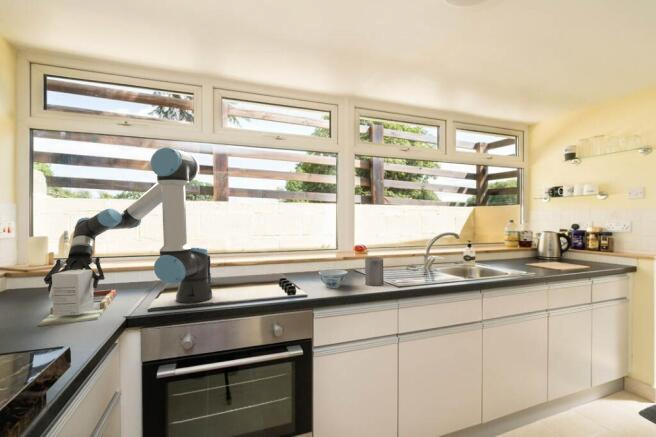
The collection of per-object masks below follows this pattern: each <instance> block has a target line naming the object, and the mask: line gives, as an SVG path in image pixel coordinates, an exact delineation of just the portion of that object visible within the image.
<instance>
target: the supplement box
mask: <svg viewBox="0 0 656 437" xmlns="http://www.w3.org/2000/svg"><path fill="white" fill-rule="evenodd" d="M92 270H93V269H92ZM92 270H85V269H83V270H68V271H64V272H60V271H59V272H60V273H57V274H53V275H52V294H53V301H52V307H53V316H56V315H79V314H81V313H83V312H85V311H87V310H93V309H94V308H95V307H94V304H95V302H93V297H90V295H89V290H90V284H91V279H92V278H93V276H92Z"/></svg>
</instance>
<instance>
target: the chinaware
mask: <svg viewBox="0 0 656 437" xmlns="http://www.w3.org/2000/svg"><path fill="white" fill-rule="evenodd" d="M348 273H349V271H347V270H344V269H337V268H336V269H335V268H334V269H331V268H329V269H323V270H322V269H321V270H320V271H318V276H319V279H320V281H321V282H322V283H323V284H324V285H325V286H326V288H328V289H338V288H340V287H341V285H342V284H343V283H344V282H346V279H347V277H348Z"/></svg>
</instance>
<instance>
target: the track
mask: <svg viewBox="0 0 656 437" xmlns="http://www.w3.org/2000/svg"><path fill="white" fill-rule="evenodd" d="M115 295H116V296H117V288H115V289H114V288H113V289H103V290H94V292H93V303H99V308H95V309H94V308H92V309H89V310H87V311H85V312H83V313H81V314H79V315H56V316H53V306H52V307H50V314H49V315H48V316H46V317H45V318H44V319H42V320H41V321H40V322H39V323H38V327H44V326H51V325H59V324H60V325H61V324H69V323H77V322H85V321H94V320H95V321H96V320H98V319H100V318H101V316H102V314H103V313H104V312H105V310H106V309H107V308H108V306H109V305H110V304H111V302H112V301H113V299H115Z"/></svg>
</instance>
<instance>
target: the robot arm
mask: <svg viewBox="0 0 656 437" xmlns="http://www.w3.org/2000/svg"><path fill="white" fill-rule="evenodd" d="M150 168H151V170H152V172H153V173H154V174H155V175H156V181H157V182H156V183H155V184H154V185H153V186H152V187H151V188H150V189H148V190H147V191H146V192H145V193H144V194H142V195H141V196H140V197H139V198H137V199H136V200H135V201H134V202H133V203H131V204H130V205H129V206H128V207H126V208H125V209H124V210H123V211H119V210H118V209H115V208H113V207H108V208H105V209H103V210H102V211H100V212H99V213H97V214H95V215H94V216H92V217H90V216H87V217H86V216H85V217H82V218H79V219H78V220H77V221H76V224H75V227H74V231H73V235H72V240H71V242H70V243H71V244H70V248H69V251H68V256H67V259H66V260H61V259H60V258H57V259H56V261H55V264H54V265H53V267H52V268H51V269H50V270H49V272H48V273H47V274H46V275H45V277H44V278H43V282H44V283H45V284H46V285H48V286H47V291H48V292H49V294H48V298H49V300H50V301H51V302H53V294H52V275H53V274H57V273H60V272H64V271H68V270H92V276H93V278H92V279H91V284H90V290H89V295H90V297H93V292H94V291H95V289H97V288H98V286H99V282H100V281H103V280H105V279H106V278H105V275H104V272H103V269H102V266H101V258H100V256H97V257H96V258H92V257H93V252H94V246H95V241H96V237H98V236H99V235H101V234H103V233H105V232H107V231H109V230H121V229H122V230H123V229H133V228H137V227H139V226H140V225H141V223H142V219H144V218H145V217H146V216H147V215H148V214H150V213H151V212H152V211H153V210H155V208H157V207H158V206H159V205H161V204H162V206H161V207H162V209H161V210H162V229H163V230H162V232H163V237H162V238H163V245H162V247H161V248H160V249H159V257H158V258H157V259H156V260H155V262H154V265H153V270H154V274H155V276H156V277H157V279H159V280H160V281H161V282H162V283H165V284H170V285H172V284H175V283H176V284H177V283H179V285H178V288H177V292H176V295H175V301H176V302H178V303H183V304H184V303H185V304H187V303H188V304H190V303H199V302H204V301H207V300H210V299H212V298H213V290H212V288H211V285H210V284H209V282H208V255H209V253H208V249H207V248H205V247H191V246H189V245H188V242H187V240H188V238H187V236H188V235H187V209H186V208H187V207H186V206H187V205H186V186H188V184H190V183H191V182H192V181H193V180H194V179H195V178H196V177H197V176H198V173H199V171H200V164H199V161H198V160H197V158H196V156H194V155H193V154H191V153H189V152H185V151H183V150H179V149H178V148H175V147H169V146H168V147H167V146H165V147H160V148H158V149H157V150H156V151H155V152H154V153H153V154H152V155H151V157H150ZM92 263H93V264H94V265H95V266H96V269H97V271H98V274H99V275H98V274H96V273H95V271H94V270H93V268H91V266H90V265H91V264H92ZM62 267H63V268H62Z"/></svg>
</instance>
